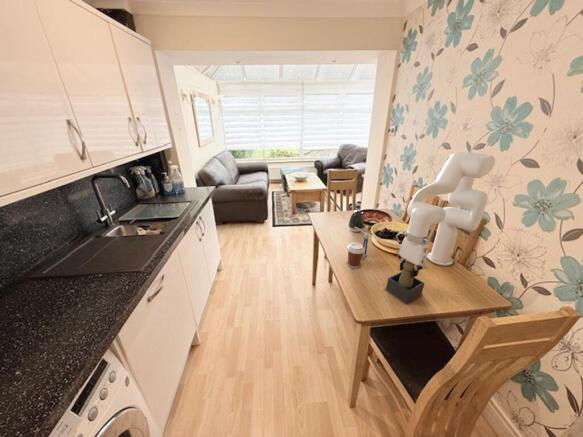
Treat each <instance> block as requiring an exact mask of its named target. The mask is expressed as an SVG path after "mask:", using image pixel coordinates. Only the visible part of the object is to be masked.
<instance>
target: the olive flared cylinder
mask: <svg viewBox="0 0 583 437" xmlns="http://www.w3.org/2000/svg"><path fill="white" fill-rule="evenodd" d="M403 268H404V269H403V270H402V273H401V276H400V278H399V281H398V282H399V284H400V285H402V286H403V287H408V288H409V287H412V286H413V278H412V277H411V275H412V271H413V269H414V263H412V262H410V261H408V260H406V262H404V264H403Z"/></svg>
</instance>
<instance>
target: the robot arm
mask: <svg viewBox="0 0 583 437" xmlns="http://www.w3.org/2000/svg"><path fill="white" fill-rule="evenodd" d="M495 165H496V158H495V156H494V155H491V154H485V153H473V152H465V151H463V152H462V151H457V152H453V153H451V155H450V156H449V158H448V159H447V160H446V162H445V163H444V166H443V167H442V169H441V170H440V172H439V174H438V176H437V177H436V179H435V181H434V182H431V183H429V184H427V185H425V186H423V187H422V188H421V189H419V190H417V192H416V193H415V194H414V195H413V197H412V199H411V200H410V202H409V203H408V206H407V209H406V213H407V215H408V216H409V223H408V226H407V232H406V235H405V236H404V238H403V240H402V242H401V245H400V248H399V249H398V250H396V251H395V253H396V255H397V257H398V259H399V263H400V264H399V271H400V272H401V271H403V269H404V268H403V264H404V262H406V261H410V262H412V263H414V269H413V271H412V275H411V277H412V278H413V277H415V278H416V277H418V276H419V272H420V270H426V269H428V268H429V264H428V263H427V262H428V261H430V262H432V263H433V264H435V265H438V266H443V267H444V266H446V267H448V266H452V265H453V262H454V260H453V259H452V255H453V254H454V253H455V252H454V249H455V245H456V242H457V239H458V236H459V233H458V229H461V230H465V231H468V232H474V231H476V230H477V229H478V228H479V226H480V223H481V220H482V218H483V215H484V212H485V209H486V206H487V204H488V198H489V197H488V194H487V192H485V191H483V190H478V189H473V184H474V182H475V179H481V178H483V177H485V176H487V175H488V174H490V173H491V172H492V171H493V169H494V167H495ZM447 194H448V196H447V202H448V204H450V205H453V206H444V207H441V206H438V205H435V204H431V203H427V202H424V200H425V199H427V198H430V197H433V196H440V195H447ZM459 207H460V208H459ZM462 208H464V209H462ZM467 209H468V210H467ZM434 225H438V227H437V230H436V234H435V238H434V241H433V245H432V247H431V248H432V249H431V252H428V251H429V250H428V249H429V243H430V239H429V238H428V237H429V236H428V235H429V232H430V226H434ZM427 259H428V261H427ZM421 264H422V265H421Z"/></svg>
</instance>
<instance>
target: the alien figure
mask: <svg viewBox="0 0 583 437" xmlns="http://www.w3.org/2000/svg"><path fill="white" fill-rule="evenodd" d="M356 228H357V227H355V229H356ZM363 228H364V230H363V229H362V230H360V229H359V228H358V230H360V231H359V232H361V233H363V243H362V246H363V247H364V249H365V250H364V252H363V254H362V259H364V258H365V257H367V253H368V242H369V237H371V238H373V239H375V240H377V241H379V242H380V239H379V238H378V237H376V236H374V235H372V234H370V233H368V232H369V229H370V226H369V225H365V226H364V227H363Z"/></svg>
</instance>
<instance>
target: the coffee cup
mask: <svg viewBox="0 0 583 437" xmlns="http://www.w3.org/2000/svg"><path fill="white" fill-rule="evenodd" d="M346 250H347V266H349V267H350V268H353V269H355V268H357V269H358V268H359V267H360V266H361V261H362V259H363V255H364V253H365V247H363V244H361V243H360V242H351V243H350V244H349V245H347V247H346ZM363 252H364V253H363ZM362 254H363V255H362Z"/></svg>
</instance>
